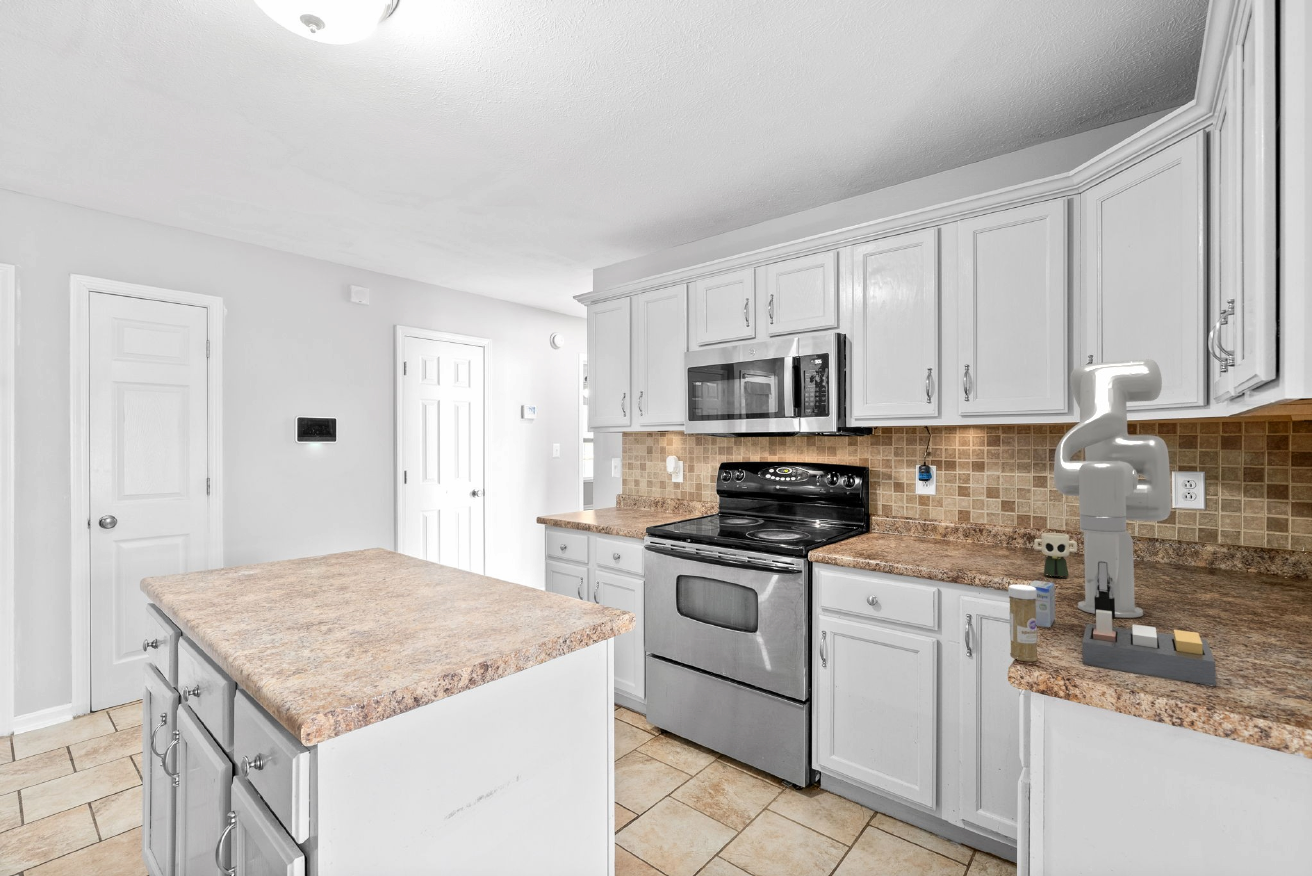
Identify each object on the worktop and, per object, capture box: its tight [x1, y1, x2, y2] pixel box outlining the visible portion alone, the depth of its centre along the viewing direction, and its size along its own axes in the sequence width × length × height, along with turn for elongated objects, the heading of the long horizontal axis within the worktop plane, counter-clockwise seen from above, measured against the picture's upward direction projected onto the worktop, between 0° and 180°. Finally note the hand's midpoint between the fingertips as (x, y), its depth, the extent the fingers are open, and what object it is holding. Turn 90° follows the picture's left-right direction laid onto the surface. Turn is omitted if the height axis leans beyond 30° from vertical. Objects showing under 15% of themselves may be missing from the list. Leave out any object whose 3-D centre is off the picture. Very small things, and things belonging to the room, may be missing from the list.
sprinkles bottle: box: [1007, 584, 1039, 663], centre depth 116 cm, size 5×5×13 cm
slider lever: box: [1093, 610, 1116, 642], centre depth 118 cm, size 4×3×5 cm
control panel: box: [1082, 623, 1217, 687], centre depth 113 cm, size 15×18×4 cm
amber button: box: [1173, 629, 1203, 655], centre depth 109 cm, size 8×3×2 cm, turn 143°
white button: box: [1132, 624, 1157, 648], centre depth 113 cm, size 8×3×2 cm, turn 143°
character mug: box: [1033, 532, 1078, 577], centre depth 189 cm, size 11×7×13 cm, turn 57°
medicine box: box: [1028, 580, 1056, 628], centre depth 140 cm, size 8×4×9 cm, turn 141°
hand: (1105, 617), depth 122 cm, fingers closed
